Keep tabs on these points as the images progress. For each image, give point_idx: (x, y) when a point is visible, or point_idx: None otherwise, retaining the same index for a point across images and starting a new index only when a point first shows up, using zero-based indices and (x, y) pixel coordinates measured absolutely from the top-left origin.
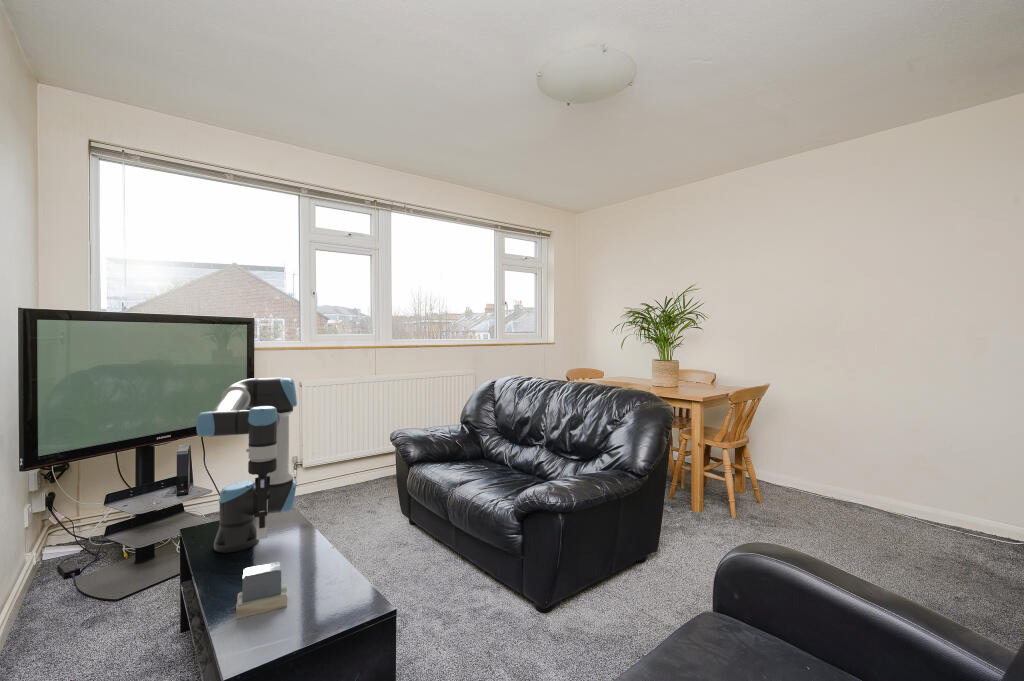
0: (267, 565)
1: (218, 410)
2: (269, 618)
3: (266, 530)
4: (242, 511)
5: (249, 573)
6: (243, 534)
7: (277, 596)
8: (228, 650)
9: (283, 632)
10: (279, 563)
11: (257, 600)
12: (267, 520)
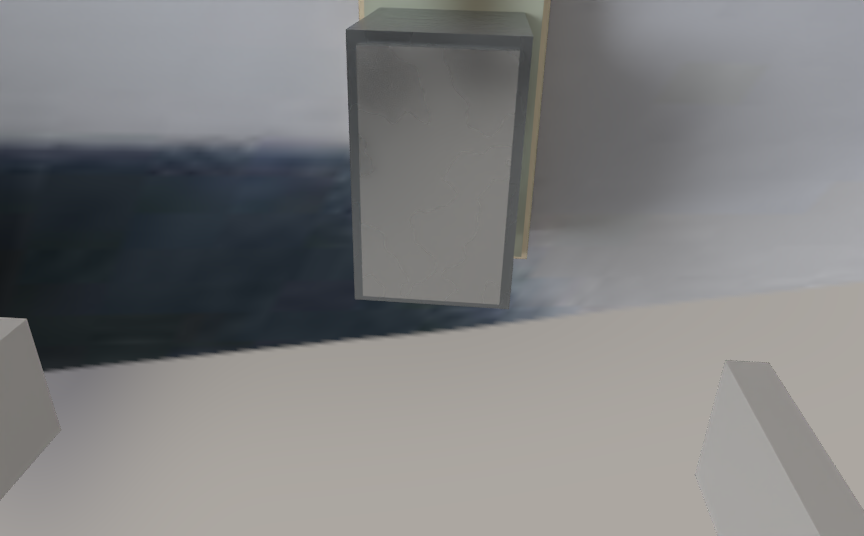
0: (390, 146)
1: None
2: (616, 74)
3: (819, 457)
4: None
5: (471, 272)
6: None
7: (539, 37)
8: (789, 259)
9: (828, 3)
10: (396, 47)
11: (526, 157)
12: (22, 323)
